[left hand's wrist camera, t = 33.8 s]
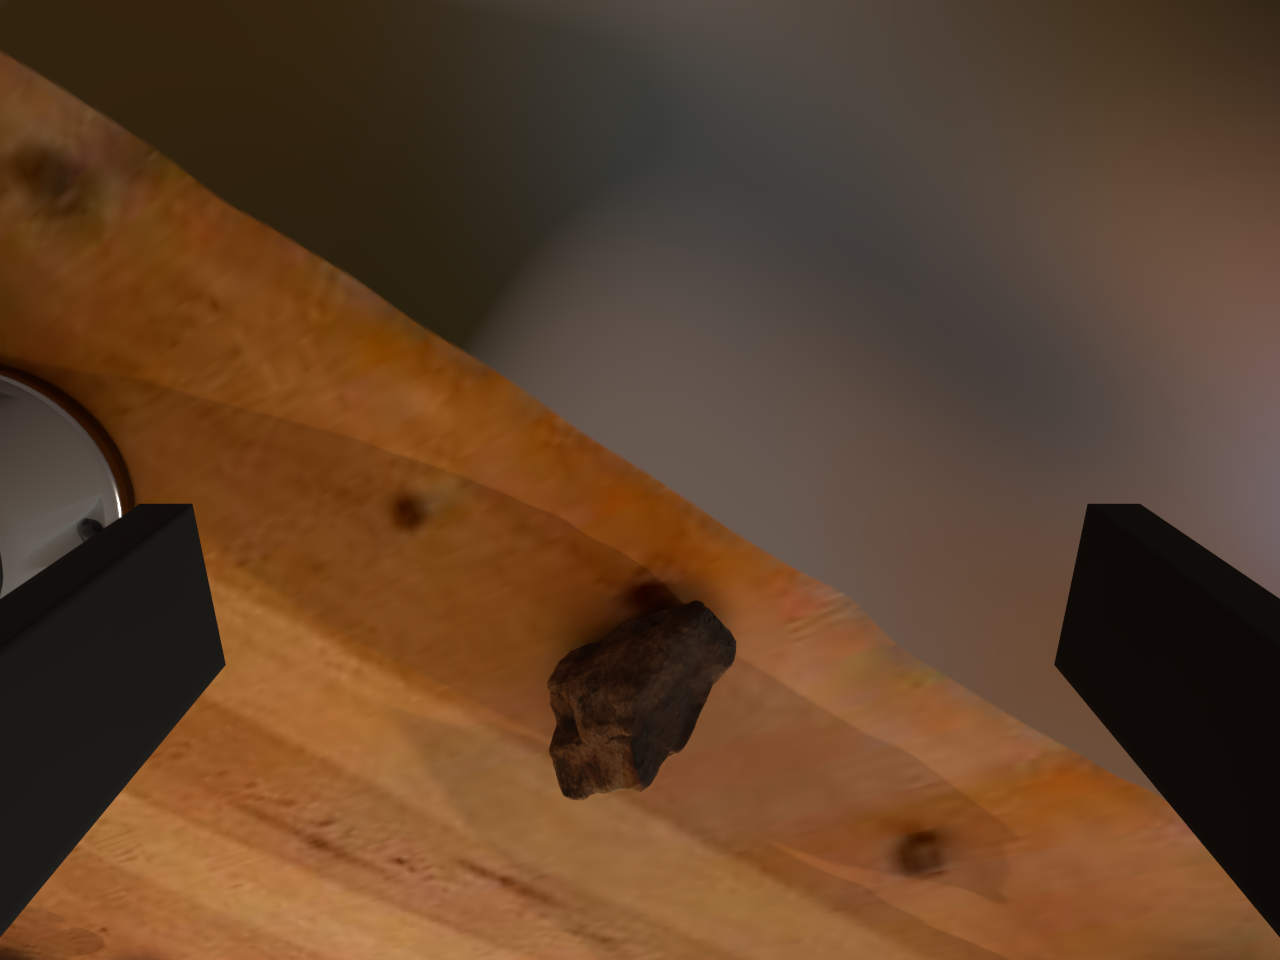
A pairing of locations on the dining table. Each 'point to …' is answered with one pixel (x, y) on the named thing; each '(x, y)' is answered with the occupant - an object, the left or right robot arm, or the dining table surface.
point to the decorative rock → (634, 698)
